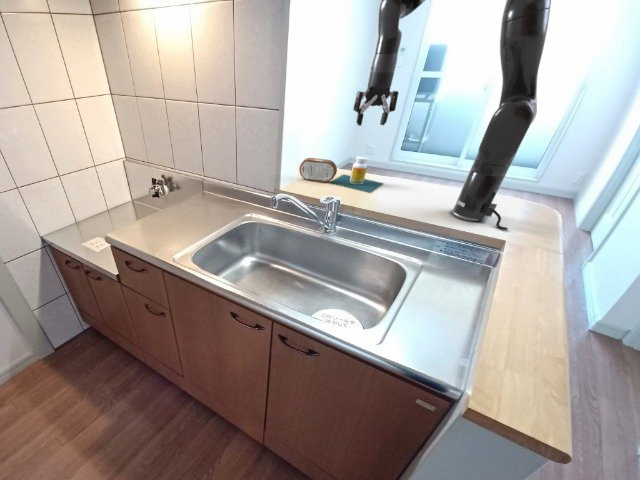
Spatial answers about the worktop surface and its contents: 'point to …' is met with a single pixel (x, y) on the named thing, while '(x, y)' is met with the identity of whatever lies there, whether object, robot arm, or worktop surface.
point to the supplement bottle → (358, 171)
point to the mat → (366, 185)
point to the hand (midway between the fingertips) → (370, 125)
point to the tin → (318, 169)
